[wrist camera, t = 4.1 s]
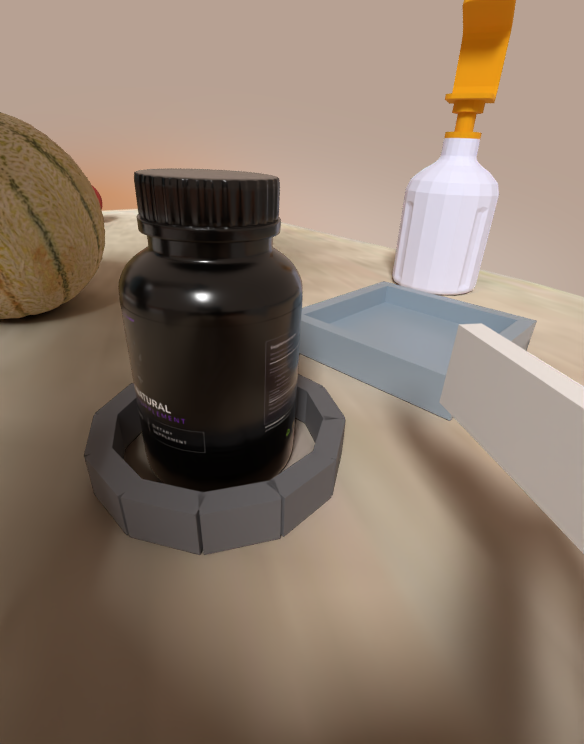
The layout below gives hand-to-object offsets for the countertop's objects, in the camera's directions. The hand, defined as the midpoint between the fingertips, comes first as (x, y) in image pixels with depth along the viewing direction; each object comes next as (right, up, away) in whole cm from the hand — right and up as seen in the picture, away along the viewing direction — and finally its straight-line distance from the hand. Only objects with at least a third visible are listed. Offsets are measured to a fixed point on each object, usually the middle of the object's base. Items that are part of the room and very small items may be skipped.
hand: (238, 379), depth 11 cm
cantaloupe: (-21, +5, +23) cm, 32 cm away
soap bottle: (+17, +10, +35) cm, 40 cm away
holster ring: (-2, -4, +8) cm, 9 cm away
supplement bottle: (-2, -4, +8) cm, 9 cm away
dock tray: (+10, +2, +19) cm, 22 cm away
